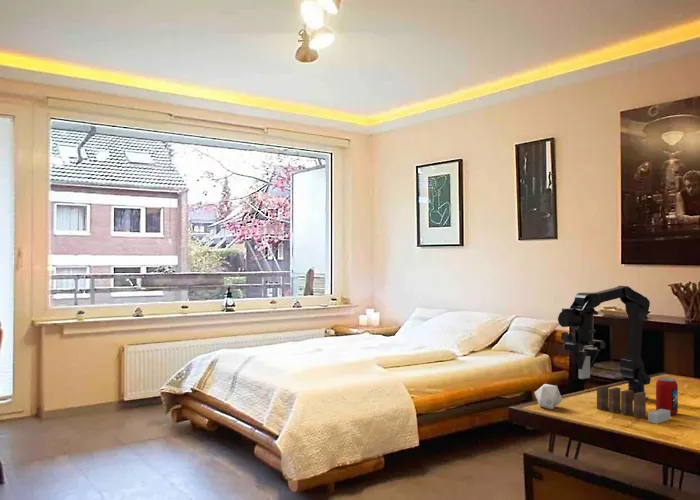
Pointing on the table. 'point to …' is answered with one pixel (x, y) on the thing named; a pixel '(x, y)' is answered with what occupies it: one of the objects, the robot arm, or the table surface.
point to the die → (548, 396)
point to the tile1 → (602, 397)
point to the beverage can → (667, 395)
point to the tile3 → (626, 402)
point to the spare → (585, 369)
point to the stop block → (659, 416)
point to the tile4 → (639, 404)
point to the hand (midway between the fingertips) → (584, 368)
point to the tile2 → (614, 400)
